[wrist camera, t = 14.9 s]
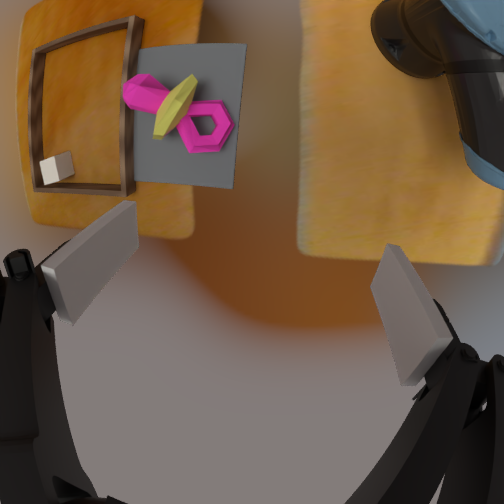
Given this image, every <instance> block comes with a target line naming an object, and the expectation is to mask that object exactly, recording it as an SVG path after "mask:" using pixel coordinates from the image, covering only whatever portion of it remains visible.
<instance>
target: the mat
mask: <svg viewBox="0 0 504 504" xmlns="http://www.w3.org/2000/svg"><path fill="white" fill-rule="evenodd" d="M246 51H247V44H233V43H205V44H183V45H171V46H161V47H152V48H145V49H139V55H138V64H137V74H150V75H151V76H153V77H154V78H155V79H156V80H157V81H159V82H160V83H161V84H162V85H163V86H164V87H166V88H167V89H168V90H169V91H171V90H173V89H174V88H175V87H176V86H177V85H179V84H180V83H181V82H182V81H184V80H185V79H186V78H187V77H189V76H190V75H191V74H193V75H194V77H195V78H196V79H197V81H198V83H197V86H196V89H195V93H194V96H193V100H192V101H207V100H222V102H223V104H224V106H225V108H226V109H227V111H228V113H229V115H230V117H231V119H232V121H233V123H234V127H233V129H232V130H231V132H230V134H229V135H228V137H227V139H226V140H225V142H224V144H223V146H222V147H221V149H220V151H217V152H200V153H189V152H188V150H187V148H186V146H185V144H184V142H183V140H182V138H181V136H180V134H179V132H178V130H177V128H176V127H175V128H174V129H173V130H171V131H170V132H169V133H168V134H167V135H166V136H165V137H164V138H163V139H162V140H159V139H153V133H154V127H155V121H156V114H152V113H147V112H143V111H138V110H134V181H145V182H160V183H174V184H186V185H198V186H210V187H218V188H228V189H233V186H234V173H235V161H236V150H237V139H238V127H239V117H240V107H241V97H242V87H243V78H244V68H245V59H246ZM190 118H191V120H192V122H193V123H194V125H195V127H196V129H197V131H198V133H199V135H200V136H204V135H211V133H212V131H213V130H214V128H215V124H214V122H213V120H212V118H211V116H200V117H190Z"/></svg>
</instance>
